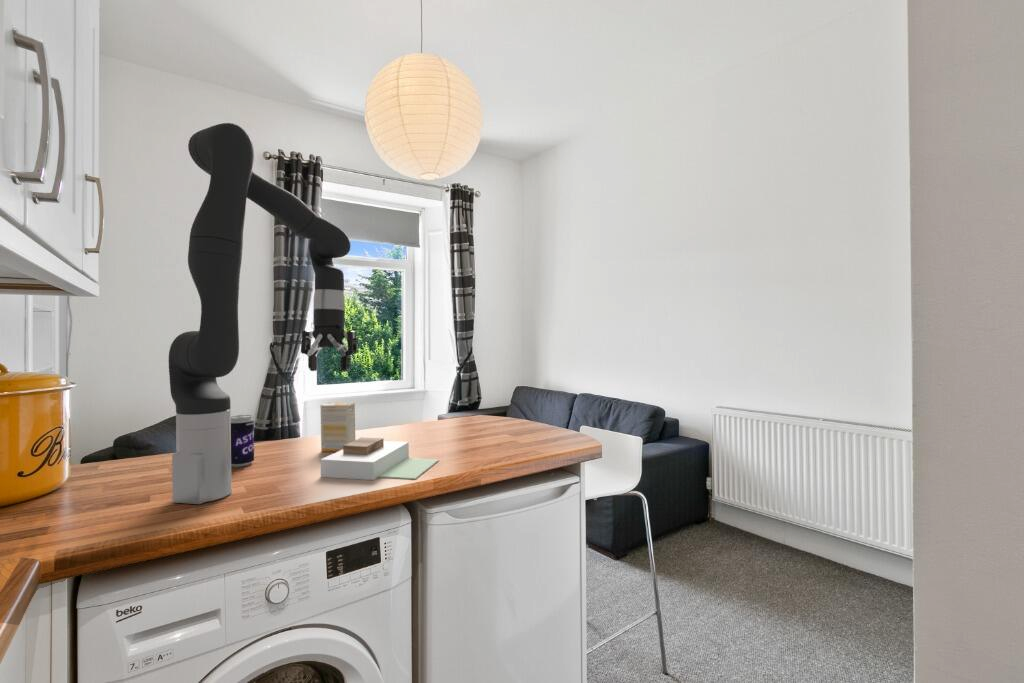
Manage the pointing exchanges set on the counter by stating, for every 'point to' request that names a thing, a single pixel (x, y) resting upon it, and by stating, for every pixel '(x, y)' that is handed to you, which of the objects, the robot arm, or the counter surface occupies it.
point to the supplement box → (337, 425)
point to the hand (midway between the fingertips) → (328, 371)
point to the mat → (409, 468)
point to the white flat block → (364, 462)
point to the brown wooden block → (363, 446)
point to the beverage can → (242, 440)
